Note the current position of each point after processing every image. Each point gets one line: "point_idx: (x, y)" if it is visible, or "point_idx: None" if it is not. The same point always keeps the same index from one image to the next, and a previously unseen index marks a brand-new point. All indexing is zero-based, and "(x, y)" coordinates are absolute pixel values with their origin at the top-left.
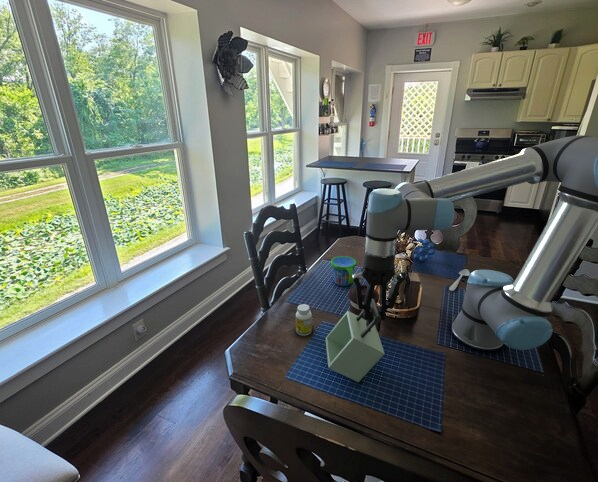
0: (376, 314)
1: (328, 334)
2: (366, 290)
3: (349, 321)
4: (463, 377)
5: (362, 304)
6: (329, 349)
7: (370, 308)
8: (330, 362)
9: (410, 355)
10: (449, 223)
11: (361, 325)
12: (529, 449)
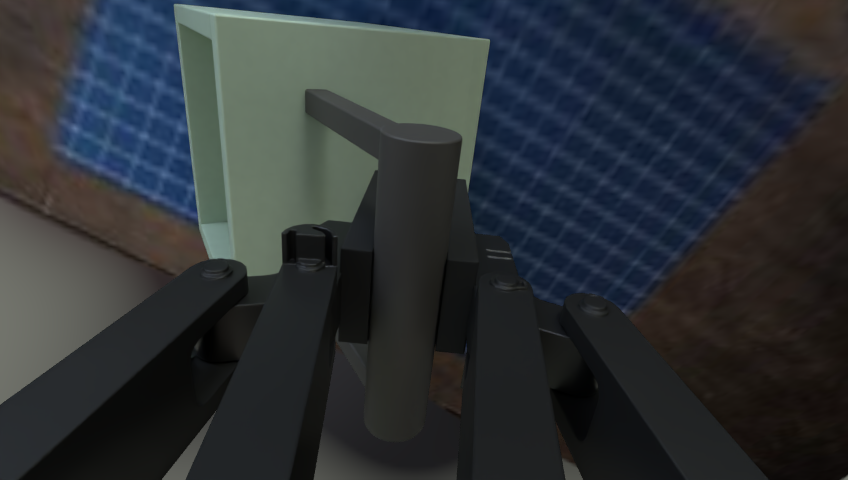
0: (385, 414)
1: (177, 5)
2: (214, 428)
3: (226, 174)
4: (788, 234)
5: (224, 392)
6: (198, 119)
7: (361, 294)
8: (204, 212)
9: (652, 85)
10: None
11: (344, 152)
12: (747, 451)
